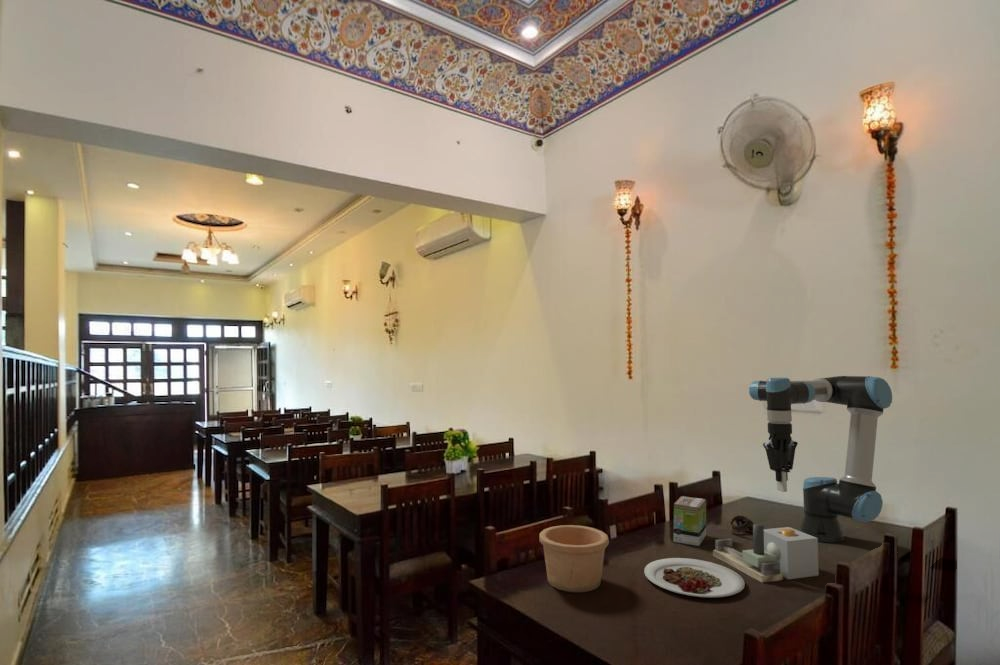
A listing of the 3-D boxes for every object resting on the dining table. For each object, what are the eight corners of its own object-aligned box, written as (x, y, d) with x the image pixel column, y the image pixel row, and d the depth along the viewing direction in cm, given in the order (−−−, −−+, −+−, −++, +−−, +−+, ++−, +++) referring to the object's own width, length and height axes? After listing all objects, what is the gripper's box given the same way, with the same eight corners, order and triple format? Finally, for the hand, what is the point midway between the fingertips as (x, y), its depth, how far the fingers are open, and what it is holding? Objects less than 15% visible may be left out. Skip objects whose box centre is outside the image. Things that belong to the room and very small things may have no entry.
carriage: (760, 557, 180) (759, 521, 180) (776, 565, 173) (775, 527, 174) (742, 559, 178) (741, 522, 179) (757, 567, 171) (756, 529, 172)
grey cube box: (789, 562, 186) (789, 526, 187) (818, 575, 174) (817, 538, 175) (759, 565, 183) (759, 529, 183) (787, 579, 171) (786, 541, 172)
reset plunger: (789, 553, 181) (788, 528, 182) (798, 558, 178) (797, 532, 178) (779, 555, 180) (778, 529, 181) (788, 559, 177) (787, 533, 177)
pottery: (622, 581, 170) (621, 535, 171) (581, 603, 154) (580, 552, 155) (567, 563, 185) (567, 520, 186) (525, 581, 169) (525, 535, 170)
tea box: (700, 547, 201) (699, 507, 202) (672, 542, 206) (672, 503, 207) (706, 535, 214) (706, 498, 215) (681, 531, 219) (680, 494, 220)
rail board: (732, 553, 194) (731, 538, 194) (782, 580, 171) (782, 562, 171) (713, 555, 192) (712, 540, 192) (761, 582, 169) (761, 564, 169)
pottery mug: (762, 538, 212) (754, 521, 210) (740, 548, 213) (732, 531, 212) (750, 522, 224) (742, 505, 222) (728, 531, 225) (720, 515, 223)
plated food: (710, 560, 188) (709, 551, 188) (766, 598, 158) (766, 586, 158) (629, 566, 183) (629, 556, 183) (672, 606, 153) (672, 594, 153)
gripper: (785, 420, 192) (788, 486, 191) (756, 422, 188) (758, 489, 187) (803, 422, 185) (806, 491, 184) (772, 424, 181) (775, 495, 180)
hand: (782, 490), depth 185 cm, fingers closed
